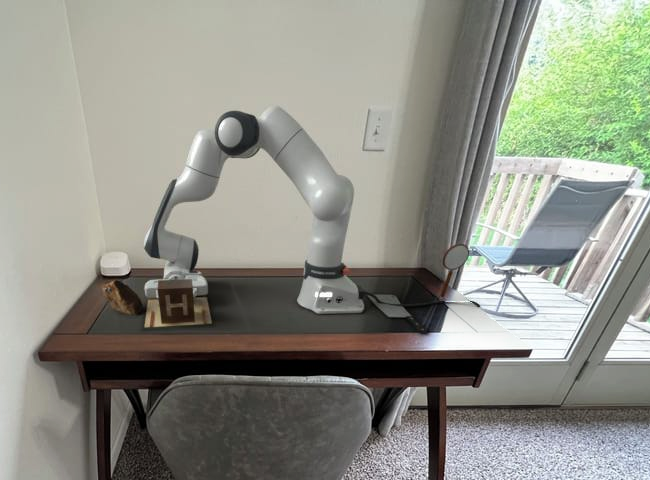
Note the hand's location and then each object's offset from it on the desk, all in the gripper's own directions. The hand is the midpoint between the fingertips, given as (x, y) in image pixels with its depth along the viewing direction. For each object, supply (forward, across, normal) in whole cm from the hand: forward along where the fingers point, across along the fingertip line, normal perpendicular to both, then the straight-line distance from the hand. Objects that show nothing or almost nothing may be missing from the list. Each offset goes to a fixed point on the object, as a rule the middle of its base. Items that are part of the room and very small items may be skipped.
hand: (176, 297), depth 110 cm
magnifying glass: (0, +92, +6) cm, 93 cm away
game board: (-1, 0, +6) cm, 6 cm away
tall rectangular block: (+4, 0, +5) cm, 6 cm away
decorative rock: (-5, -17, +6) cm, 19 cm away
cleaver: (+8, +71, +6) cm, 71 cm away
